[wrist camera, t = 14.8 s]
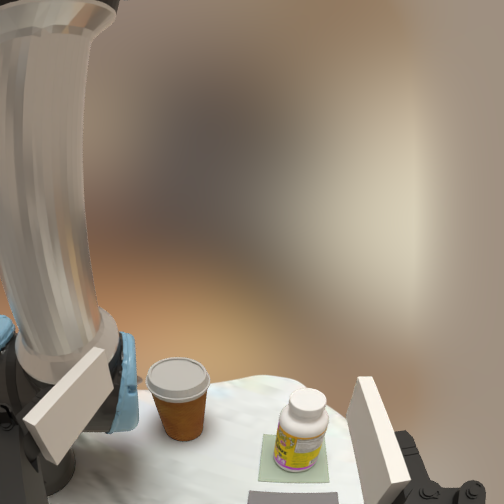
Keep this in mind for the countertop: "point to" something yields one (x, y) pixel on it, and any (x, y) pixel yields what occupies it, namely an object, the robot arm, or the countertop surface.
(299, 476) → the mat
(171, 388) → the disposable coffee cup
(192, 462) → the countertop surface
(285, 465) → the supplement bottle
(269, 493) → the mat
